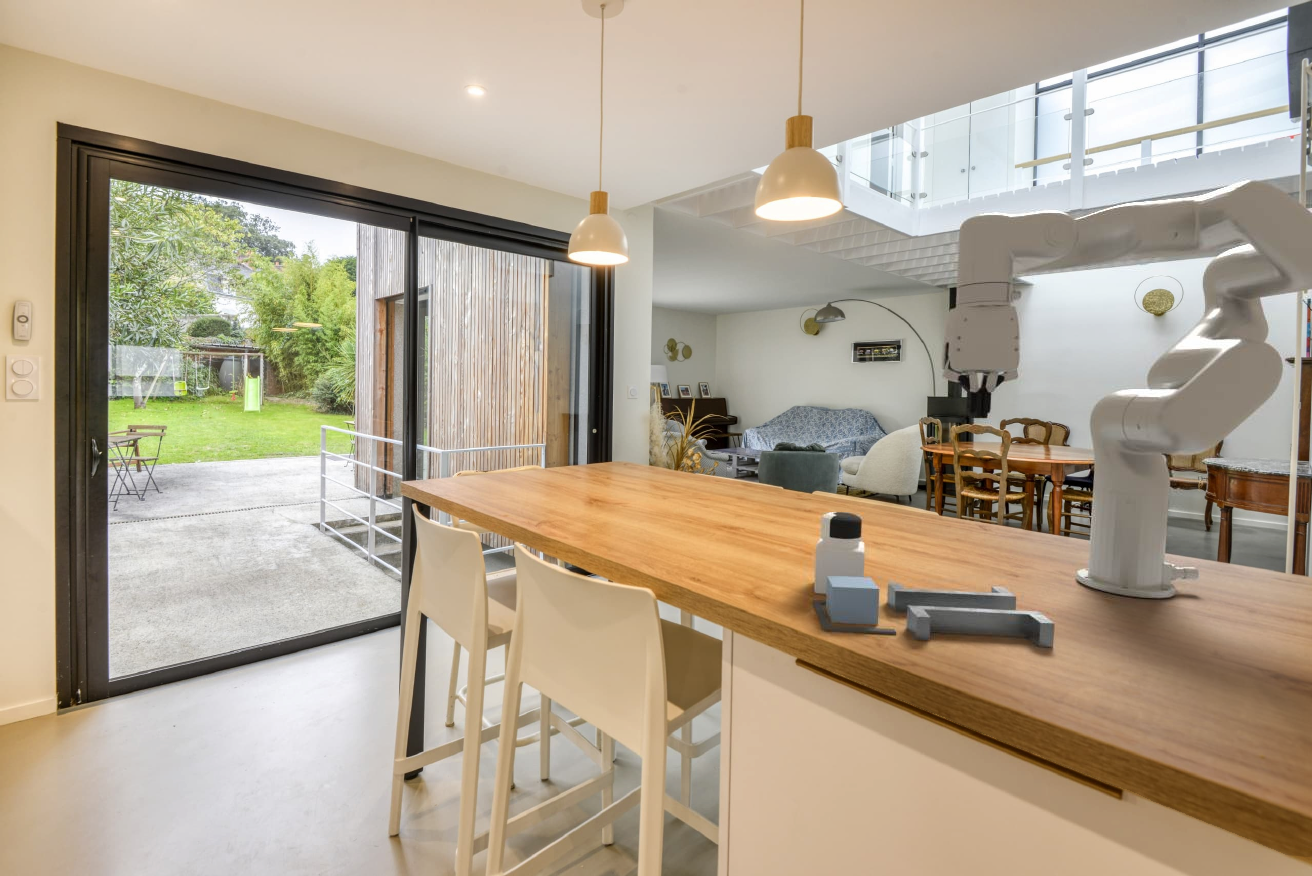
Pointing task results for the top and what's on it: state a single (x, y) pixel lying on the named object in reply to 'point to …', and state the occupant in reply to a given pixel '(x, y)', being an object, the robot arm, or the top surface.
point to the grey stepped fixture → (968, 614)
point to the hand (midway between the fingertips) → (977, 417)
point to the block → (852, 600)
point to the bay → (827, 626)
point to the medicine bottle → (839, 549)
